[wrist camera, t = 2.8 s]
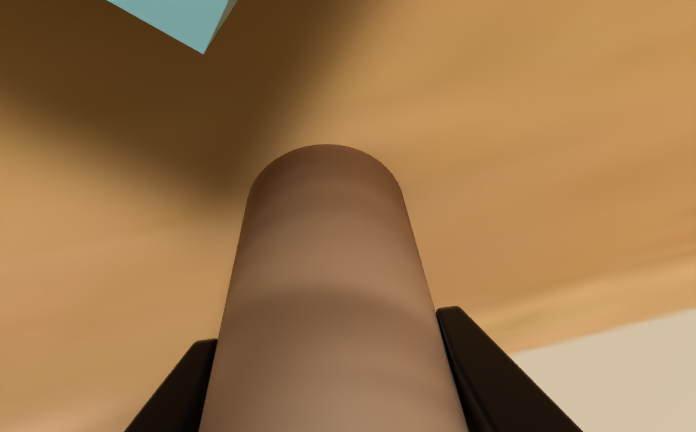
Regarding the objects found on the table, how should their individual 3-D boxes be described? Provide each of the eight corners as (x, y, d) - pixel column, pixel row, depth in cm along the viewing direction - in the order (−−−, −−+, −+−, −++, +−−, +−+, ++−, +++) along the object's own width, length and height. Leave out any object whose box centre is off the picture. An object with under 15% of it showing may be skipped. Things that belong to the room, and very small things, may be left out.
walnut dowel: (350, 293, 14) (400, 886, 6) (220, 238, 13) (42, 912, 4) (436, 191, 12) (690, 842, 4) (295, 113, 11) (233, 863, 3)
